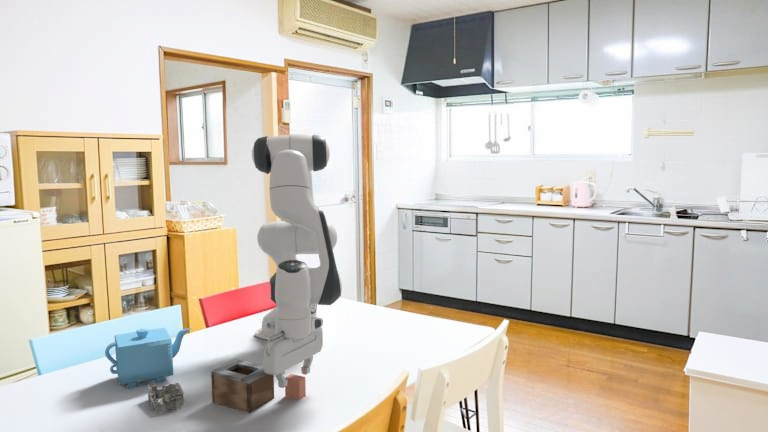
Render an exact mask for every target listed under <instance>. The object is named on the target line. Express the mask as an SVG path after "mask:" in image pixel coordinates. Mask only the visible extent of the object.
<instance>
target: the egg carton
mask: <svg viewBox="0 0 768 432" xmlns="http://www.w3.org/2000/svg"><path fill="white" fill-rule="evenodd" d="M147 389H148V392H147V398H148V402H149V403H151V404H150V405H151V407H153V408H154V413H161V414H163V413H166V412H167V411H168V410H171V409H174V410H179V409H181V408H182V407H183V406H185V397H184V395H185V393H184V391H183V388H182V387H181V385H180V383H179V382H173V383H168V385H165V384H163V385H162V386H161V387H160V388H158V387H157V385H156V384H155V385H150V384H147ZM159 398H161V399H159ZM161 403H162V404H161Z"/></svg>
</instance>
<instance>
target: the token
mask: <svg viewBox="0 0 768 432" xmlns="http://www.w3.org/2000/svg"><path fill="white" fill-rule="evenodd" d="M284 378H285V379H287V380H288V382H287V384H288V385H287V386H286V387H284V391H285V393H284V396H285V397H288V398H291V399H296V400H302V399H304V398H305V397H306V394H307V393H306V390H307V389H306V377H305V376H302V375H297V374H293V373H290V374H288V375H287V376H284Z"/></svg>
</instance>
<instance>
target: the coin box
mask: <svg viewBox="0 0 768 432" xmlns="http://www.w3.org/2000/svg"><path fill="white" fill-rule="evenodd" d="M210 374H211V375H210V376H211V396H212V400H211V401H212V402H211V403H215V404H217V405H220V406H225V407H227V408H231V409H235V410H239V411H242V412H245V413H249V414H250V413H253V412H254V411H255V410H257V409H258V408H260V407H261V406H264V405H265V404H267V403H268V402H271V401H272V400H273V399H275V375H269V374H266V373H265V372H264V371H263V364H260V363H256V362H251V361H246V360H243V359H239V358H237V359H234V360H232V361H229V362H227V363H226V364H223V365H221V366H219V367H217V368H215V369H212V370H211V373H210Z"/></svg>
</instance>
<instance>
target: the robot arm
mask: <svg viewBox="0 0 768 432" xmlns="http://www.w3.org/2000/svg"><path fill="white" fill-rule="evenodd" d="M330 154H331V152H330V147H329V145H328V143H327V139H325V138H324V136H322V135H318V134H313V135H308V134H292V133H291V134H284V135H282V134H281V135H274V136H268V135H265V136H261V137H258V138H257V139H256V140H255V141H254V143H253V147H252V149H251V159H252V162H253V164H254V167H255V169H257V170H258V171H259V172H261V173H264V174H266V175H269V201H270V202H269V203H270V208H271V210H272V212H273V213H274V215H275V216H276V217H277V218H278V219H279V220H275V221H270V222H266V223H264V224H262V225H261V226H260V228H259V229H258V232H257V236H256V237H257V239H256V240H257V244H258V246H259V248H260V249H261V251H262V252H263V253H264V254H266V255H268V256H269V257H270V258H271V259H272V261H274V263H275V265H276V272H274V274H273V275H272V276H271V277H270V279H269V284H270V297H269V298H270V300H271V301H272V302H273V303H274V304H275V305H276V306H275V307H274V308H273V309H271V310H270V311H269V312H268V313H266V314H265V315H264V317H263V318H262V322H261V327H260V328H258V329H257V330H255V332H254V337H257V338H260V339H263V340H266V342H265V347H264V349H263V360H262V365H263V371H264V372H265V373H266V374H269V375H274V377H275V378H276V380H277V382H278V383H277V385H278V388H280V389H281V388H282V389H285V387H286V386H287V385H288V384H287V382H288V380H287V379H285V375H286V371H287V370H289V369H290V368H293V367H294V366H296V365H299V364H300V363H301V362H303V364H302V366H301V369H300V370H301V374H302V375H307V374H309V373H311V366H312V364H313V363H312V362H313V359H314V355H316V354H319V353H320V352H321V351H322V349H323V345H324V342H323V341H324V340H323V339H324V337H323V336H324V334H323V333H324V332H323V328H322V327H323V325H324V320H323V318H322V317H321V318H320V317H318V315H317V309H318V306H317V305H319V306H331V305H333V304H334V303H335V302H336V301H338V299H339V298H340V297H342V295H341V294H342V291H343V285H342V279H341V277H340V274H339V271H338V268H337V263H336V259H335V255H334V254H335V253H334V251H333V249H334V248H335V246H336V245H337V241H338V233H337V229H336V228H335V226H334V225H333V224H332V223H331V222H330V221H328V220H327V218H326V216H325V213H324V211H323V209H322V208H320V207H318V206H317V205H316V203H315V200H314V199H315V198H314V190H313V177H312V172H314V173H315V172H319V171H322V170H324V169H325V168H326V167H327V166H328V165H327V164H328V163H329V160H330V157H331V156H330ZM296 255H318V259H319V263H320V265H319V266H318V267H310V266H309V265H308V264H307V263H306V262H305V261H302V260H299V259H298V258H297V256H296Z"/></svg>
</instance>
